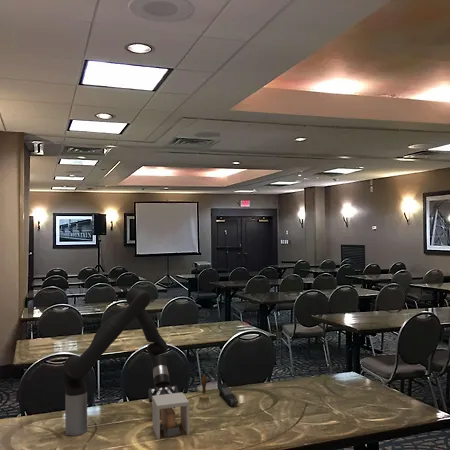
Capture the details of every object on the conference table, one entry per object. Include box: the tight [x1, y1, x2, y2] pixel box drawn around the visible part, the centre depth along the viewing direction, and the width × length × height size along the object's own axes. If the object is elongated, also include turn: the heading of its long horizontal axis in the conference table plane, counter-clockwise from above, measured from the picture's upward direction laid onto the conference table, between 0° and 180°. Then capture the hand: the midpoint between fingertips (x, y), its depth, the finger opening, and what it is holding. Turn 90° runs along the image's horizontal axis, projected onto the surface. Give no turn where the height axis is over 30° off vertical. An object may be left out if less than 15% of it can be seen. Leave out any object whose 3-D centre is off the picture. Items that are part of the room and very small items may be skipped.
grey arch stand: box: [151, 392, 191, 440], centre depth 213 cm, size 14×14×14 cm
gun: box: [217, 382, 239, 408], centre depth 251 cm, size 4×20×10 cm, turn 20°
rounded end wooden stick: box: [160, 407, 176, 432], centre depth 218 cm, size 18×4×8 cm, turn 18°
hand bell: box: [195, 374, 213, 410], centre depth 244 cm, size 8×8×16 cm
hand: (165, 408), depth 225 cm, fingers open, 8 cm apart
